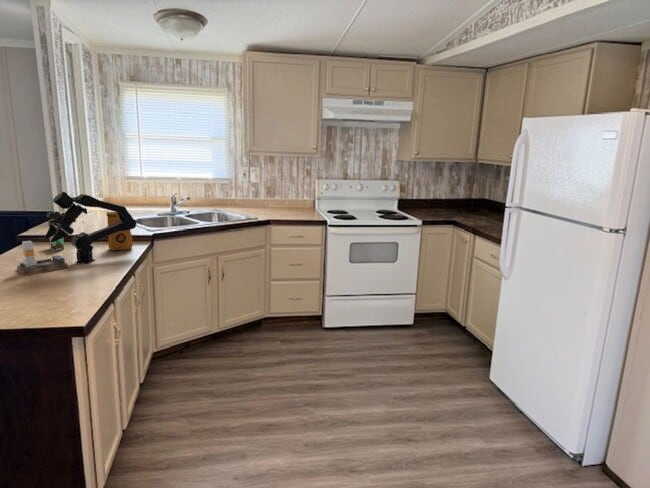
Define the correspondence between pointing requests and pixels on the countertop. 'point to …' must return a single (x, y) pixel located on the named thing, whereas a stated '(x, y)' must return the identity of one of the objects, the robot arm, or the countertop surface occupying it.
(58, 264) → the base
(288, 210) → the countertop surface
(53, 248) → the food container
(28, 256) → the sliding jaw
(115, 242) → the coffee package
